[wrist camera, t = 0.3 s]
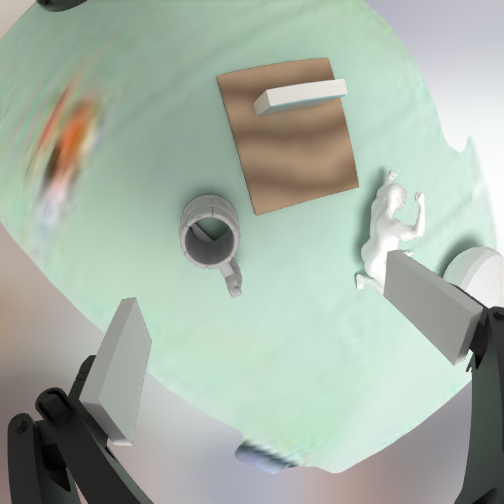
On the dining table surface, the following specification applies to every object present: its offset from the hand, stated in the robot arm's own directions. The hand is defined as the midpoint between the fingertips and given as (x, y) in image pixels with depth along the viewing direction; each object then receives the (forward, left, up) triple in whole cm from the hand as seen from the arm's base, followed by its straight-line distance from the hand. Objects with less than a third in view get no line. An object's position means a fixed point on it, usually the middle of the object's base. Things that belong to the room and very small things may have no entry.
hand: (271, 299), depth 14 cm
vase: (+28, +43, -27) cm, 58 cm away
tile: (-11, +11, -26) cm, 30 cm away
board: (-7, +11, -27) cm, 30 cm away
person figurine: (+11, +21, -28) cm, 36 cm away
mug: (+4, -3, -27) cm, 28 cm away
